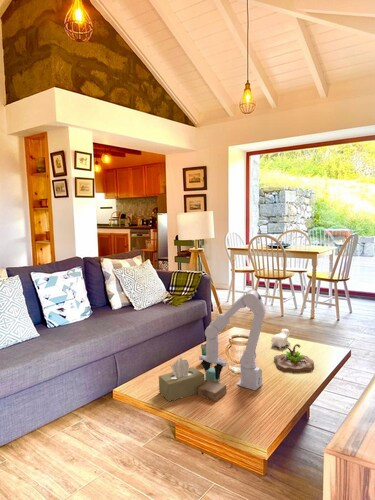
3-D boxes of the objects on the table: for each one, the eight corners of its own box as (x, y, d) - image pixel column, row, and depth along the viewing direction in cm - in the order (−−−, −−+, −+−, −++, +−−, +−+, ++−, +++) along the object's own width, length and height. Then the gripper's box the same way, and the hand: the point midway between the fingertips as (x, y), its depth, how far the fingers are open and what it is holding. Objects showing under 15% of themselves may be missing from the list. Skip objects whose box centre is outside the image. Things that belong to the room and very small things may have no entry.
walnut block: (226, 393, 160) (226, 385, 160) (215, 402, 153) (215, 393, 153) (209, 388, 166) (209, 379, 165) (198, 396, 158) (198, 387, 158)
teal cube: (220, 379, 173) (219, 369, 173) (214, 383, 169) (214, 373, 169) (211, 376, 176) (211, 367, 176) (205, 380, 172) (205, 370, 172)
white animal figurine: (283, 354, 211) (294, 338, 220) (281, 342, 208) (292, 327, 217) (270, 350, 217) (282, 335, 226) (268, 339, 213) (279, 324, 223)
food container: (210, 365, 190) (210, 346, 189) (201, 362, 194) (200, 344, 193) (222, 357, 200) (222, 340, 199) (213, 355, 204) (213, 338, 203)
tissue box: (194, 382, 171) (193, 350, 169) (205, 391, 163) (204, 357, 161) (158, 393, 162) (157, 359, 160) (168, 402, 153) (167, 366, 152)
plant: (318, 373, 178) (319, 351, 177) (278, 373, 180) (278, 351, 179) (308, 357, 198) (308, 338, 197) (272, 357, 199) (272, 337, 198)
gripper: (229, 350, 170) (230, 378, 171) (204, 344, 179) (205, 370, 180) (221, 355, 165) (222, 383, 166) (196, 348, 173) (196, 375, 175)
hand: (212, 377), depth 173 cm, fingers closed on teal cube, 5 cm apart
